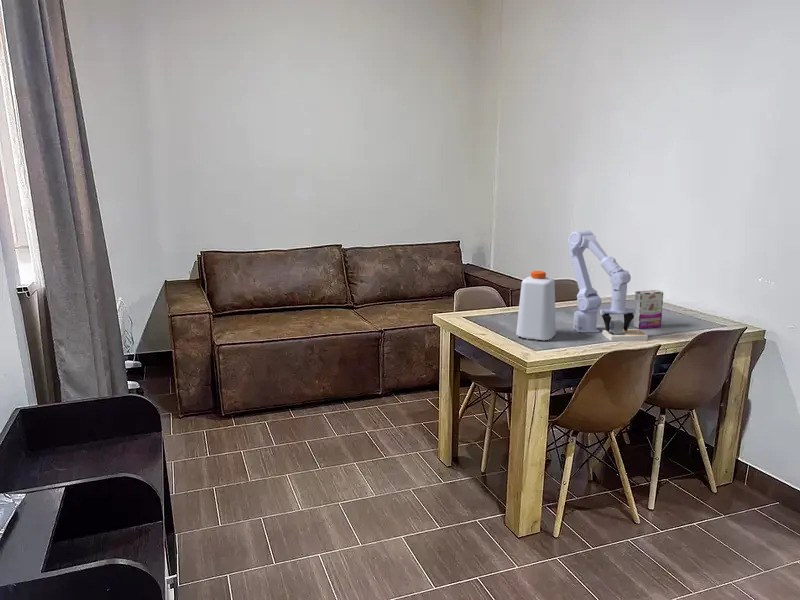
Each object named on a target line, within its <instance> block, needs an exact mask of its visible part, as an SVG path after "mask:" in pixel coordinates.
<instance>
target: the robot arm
mask: <svg viewBox="0 0 800 600" xmlns="http://www.w3.org/2000/svg"><path fill="white" fill-rule="evenodd" d="M567 242H568V254H569V259H570V262H571V266H572V270H573V272H574V277H575V280H576V284H577V287H578V290H579V291H578V293H577V295H576V299H577V301H576V304H577V305H576V306H577V308H578V310H576V311H574V313H573V326H572V328H573V330H575V332H577V333H579V332H581V333H600V330H599V329H597V323H598V311H599V314H600V315H601V317H602V320H603V322H604V326H605V330H606V331H607V332H609V330H610V322H611V321H612V320H611V319H612V317H611V315H623V323H624V326H623V330H625V331H627V330H628V329H629V326H630V324H631V323H632V322H633V320H634V314H636V310H635V309H634V308H626V305H627V304H626V303H627V293H628V292H627V291H628V284H629V283H630V281H631V274H630V272H629V271H628V270H626V269H624V268H623V267H622V266H620V265H619V263H618V262H617V260H616V258H615V257H613V256H609V255H608V254H607V253H606V251H605V250H604V249H603V247H602V246H601V245H600V244H599V242H598V240H597V238H596V235H595V234H594V233H593V231H592V230H589V229H587V230H581V231H572V232H571V233H570V235H569V236H568V238H567ZM586 249H588V250H590V251H591V252H592V253H593V255H594V256H595V257H596V258H597V259H598V260H599V261H600V266H601V267H602V268H603V270H604V271H605V273H606V274H607V275H608V276H609V281H610V283H611V301H610V308H603V309H600V310H599V308H600V307H601V306H602V298H601V296H599V294H598V291H597V290H596V289H595V288H594V287H593V286H592V283H591V279H590V275H589V272H588V268H587V265H586V261H585V257H584V252H585V250H586Z"/></svg>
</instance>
